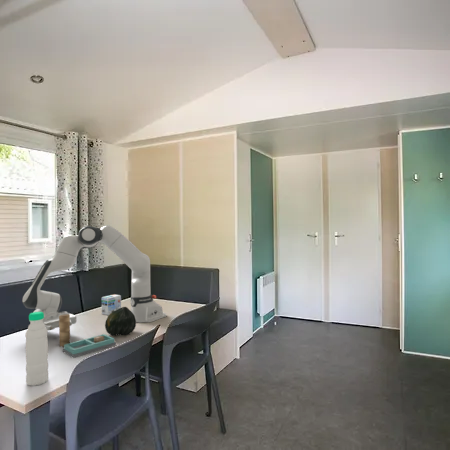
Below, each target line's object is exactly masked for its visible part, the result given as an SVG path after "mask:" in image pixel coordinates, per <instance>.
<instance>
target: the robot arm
mask: <svg viewBox="0 0 450 450" xmlns="http://www.w3.org/2000/svg"><path fill="white" fill-rule="evenodd" d="M99 243H100V244H103V245H104V246H106V247H107V248H108V249H109V250H110V251H111V252H113V253H114V254H115V255H116V256H117V257H118V258H119V259H120V260H121V261H122V262H123V263H124V264H125V265H126V266H127V267H128V268H129V269H130V270H131V284H130V285H131V286H130V287H131V296H130V307H131V308H130V311H131V312H132V313H133V314H134V316H135V319H136V323H152V322H155V321H157V320H159V319H163V318H166V317H167V316H168V315H167V313H165V312H164V311H163V310H164V309H163V307H162V305H160V304H159V303H158V302H156V301H154V299H157V295H155V294H151V259H150V256H149V255H148V254H146V253H144V252H142V251H141V250H139V248H138V247H137V246H135V244H134V243H132V242H131V240H129V239H128V238H127V237H126V236H125V235H124V234H122V233H121V232H120V231H119V230H117V228H115V227H113V226H111V225H104V226H102V227H101V228H100V227H96V226H91V225H87V226H84V227H82V228H81V229H80V230H79V231H78V234H76V235H74V234H67V235H65V236H63V237H62V239H61V240H60V242H59V244H58V246H57V249H56V251H55V253H54V255H53V256H52V257H51V258H50V259H47V260H46V261H45V262H44V263H43V264H42V266H41V268H40V269H39V271H38V272H37V274H36V276H35V277H34V279H33V281H32V282H31V284H30V286H29V287H28V289H27V290H26V291H25V293H24V295H23V296H22V300H21V302H22V304H23V306H24V307H25V308H26V309H31V310H32V309H33V310H34V309H35V310H34V311H33V312H43V313H44V318H43V323H44V325H45V327H46V328H47V331H48V332H49V331H52V330H54V329H59V316H60V315H63V314H69V315H70V327H71V326H72V325H75V324H76V323H77V320H78V319H77V316H76V315H74V314H73V313H70V312H68V311H61V308H62V306H63V299H62V296H61V294H60V293H57V292H54V291H53V292H52V291H48V290H47V291H46V290H41V288H42V286H43V284H44V283H45V281H46V279H47V277H48V276H49V275H50V274H51V273H55V272H61V271H62V272H63V271H67V270H69V269H71V268H73V267H74V265H75V263H76V261H77V259H78V258H77V257H78V255H79V252H80V250H81V249H91V248H94V247H96V246H97V245H98V244H99ZM29 325H30V324H28V327H29ZM28 327H27V328H28Z"/></svg>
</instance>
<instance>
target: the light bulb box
mask: <svg viewBox="0 0 450 450" xmlns="http://www.w3.org/2000/svg"><path fill="white" fill-rule="evenodd" d="M119 308H122V295H120V294H115V293H114V294H110V295H105V296H102V297H101V314H102V315H105V316H106V315H107V316H109V315H110V314H111V313H112V312H114V311H116V310H118V309H119Z"/></svg>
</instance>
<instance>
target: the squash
mask: <svg viewBox="0 0 450 450" xmlns="http://www.w3.org/2000/svg"><path fill="white" fill-rule="evenodd" d="M136 326H137V322H136V319H135V316H134V314H133V313H132V312H131V309H129V308H128V307H127V306H121V308H119V309H118V310H116V311H114V312H112V313H111V314H110V315H107V318H106V320H105V322H104V327H105V331H106V332H107V333H108V335H110V336H120V335H121V336H128V335H130V334H131V333H133V331H134V330H135V329H136Z"/></svg>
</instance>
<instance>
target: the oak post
mask: <svg viewBox="0 0 450 450" xmlns="http://www.w3.org/2000/svg"><path fill="white" fill-rule="evenodd" d="M58 329H59V332H58V333H59V335H58V337H59V338H58V340H59V347H61V348H64V345H65V344H69V343H71V326H70V315H69V314H63V315H60V316H59V327H58Z"/></svg>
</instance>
